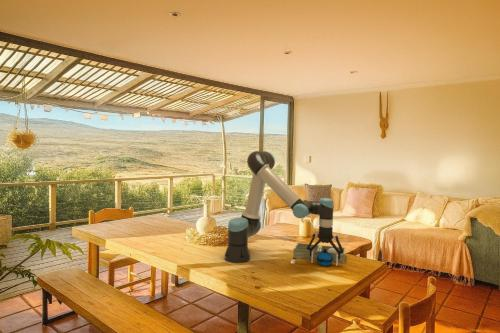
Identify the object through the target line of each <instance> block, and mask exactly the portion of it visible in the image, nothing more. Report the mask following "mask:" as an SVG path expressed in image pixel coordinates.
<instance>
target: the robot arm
mask: <svg viewBox="0 0 500 333" xmlns="http://www.w3.org/2000/svg"><path fill="white" fill-rule="evenodd" d="M246 161H247V162H246V163H247V166H248V168H249V170H250V171H251V173H252V177H251V181H250V182H251V183H250V186H249V192H248V196H247V202H246V205H245V210H244V211H243V212H242V213H241V217H234V218H232V219H230V220H229V221H228V225H227V228H228V229H227V231H228V232H227V247H226V250H225V253H224V260H225V261H227V262H230V263H237V264H239V263H240V264H241V263H246V262H249V261H250V260H251V253H250V249H249V246H248V245H249V243H248V242H249V238H250V237H252V236H255V235H257V233H259V231H260V230H261V227H262V224H261V216H260V214H259V213H260V208H261V204H262V199H263V195H264V191H265V188H266V187H265V186H266V185H267V186H268V187H269V189H271V190H272V191H273V193H275V194H276V195H277V196H278V197H279V198H280V199H281V200H282V201H283V202H284V203H285V204H286V205H287V206H288V207H289V208H290V209H291V211H292V214H293V216H294V217H295V218H297V219H304V218H306V217H308V216H310V215H318V216H319V217H318V218H319V219H318V225H319V226H318V234H317V233H316V232H314V233H313V234H312V237H311V239H310V241H309V243H308V244H309V245H308V246H307V250H309V251H310V256H311V257H312V259H310V260H311V261H310V262H311V264H313V263H314V260H313V253H314V250H313V249H314V248H315V247H316V246H317V245H320V243H323V244H324V243H325V244H330V246H333V248H334V249H335V250H336V251H337V257H336V262H335V266H336V267H337V266H338V265H339V263H338V260H340V254H341V253H344V250H343V248H344V247H342V244H341V242H340V240H339V235H338V234H336V235H333V229H334V228H333V224H334V200H333V199H332V198H328V197H326V198H325V197H323V198H320V199H319V201H315V200H308V199H305V200H304V199H303V200H302V199H301V198H300V196H298V195H297V194H296V192H294V190H292V188H290V186H288V184H286V182H285V181H283V180H282V178H280V176H278V175H277V173H275V171H274V170H272V169H273V168H275V164H276V159H275V156H274V155H273V154H272V153H271V152H268V151H265V150H261V151H260V150H256V151H252V152H250V153H249V155H248V157H247V160H246ZM316 238H318V240H317V241H316V242H315V243H314V244H313V242H314V241H315V239H316ZM333 239H334V240H335V243H337V245H336V244H335V243H334V241H333ZM311 244H313V246H312V247H311V248H310V246H311ZM337 247H339V248H340V250H341V251H340V250H339V249H338V248H337Z"/></svg>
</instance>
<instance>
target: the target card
mask: <svg viewBox="0 0 500 333" xmlns="http://www.w3.org/2000/svg"><path fill="white" fill-rule="evenodd" d="M296 260H297V259H291V261H290V264H292V265H294V264H295V263H296Z"/></svg>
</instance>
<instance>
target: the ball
mask: <svg viewBox="0 0 500 333" xmlns="http://www.w3.org/2000/svg"><path fill="white" fill-rule="evenodd" d="M327 252H330V253H337V251H336V250H335V249H334V248H330V249H328V251H327Z"/></svg>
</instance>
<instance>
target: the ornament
mask: <svg viewBox="0 0 500 333" xmlns="http://www.w3.org/2000/svg"><path fill="white" fill-rule="evenodd" d="M332 260H333V258H332V256H331V254H330V253H328V252H327V250H326V249H324V251H323V252H320V253H319V254H318V256H317V260H316V261H317V263H318V264H319V265H320V266H323V267H329V266H331V264H332V263H333V262H332Z"/></svg>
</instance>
